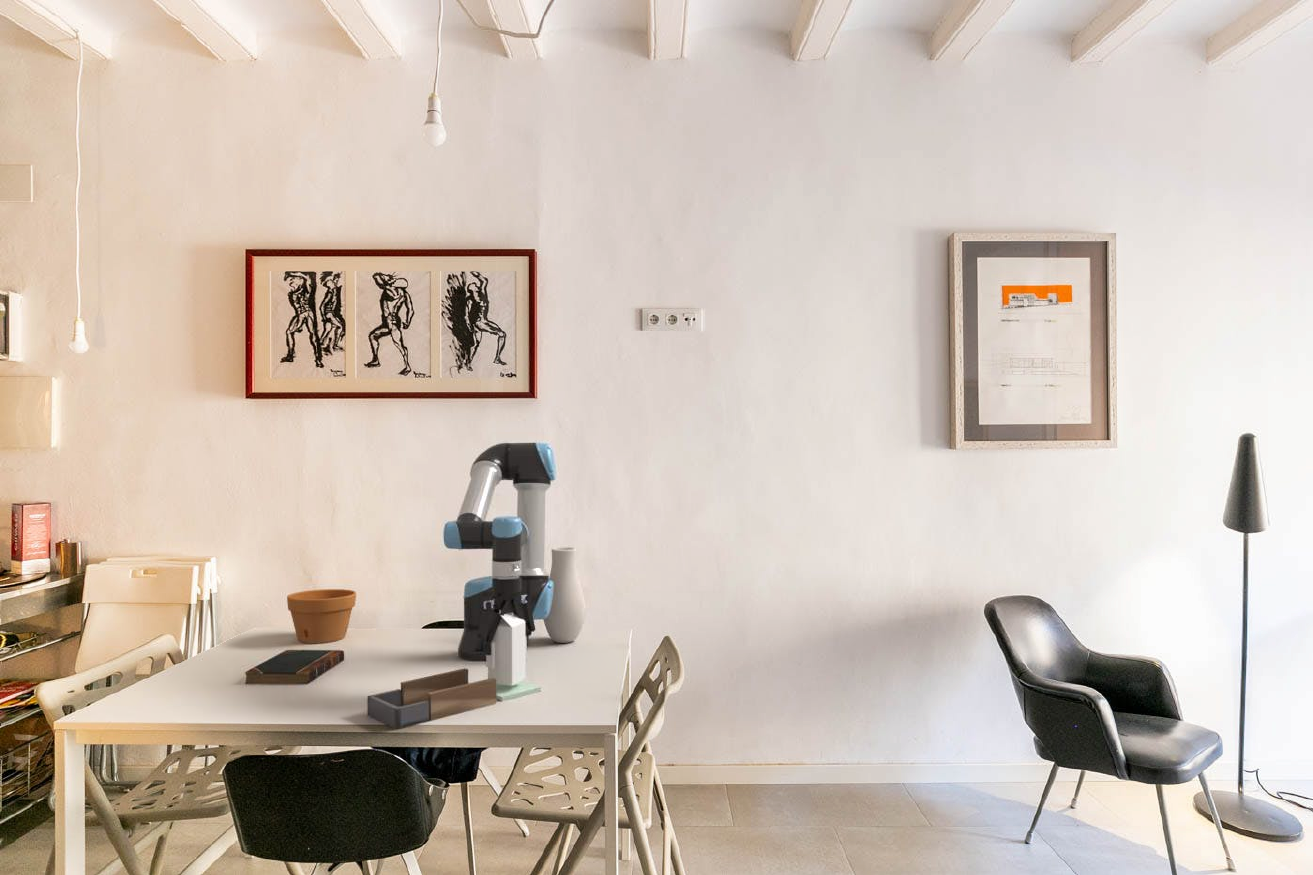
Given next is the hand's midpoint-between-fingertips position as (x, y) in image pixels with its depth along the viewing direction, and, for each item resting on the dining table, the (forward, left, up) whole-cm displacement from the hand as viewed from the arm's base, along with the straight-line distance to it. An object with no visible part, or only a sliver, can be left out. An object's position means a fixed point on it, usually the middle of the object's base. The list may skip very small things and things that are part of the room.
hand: (506, 663), depth 216 cm
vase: (-32, +45, -7) cm, 56 cm away
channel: (0, -17, -7) cm, 18 cm away
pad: (0, 0, -7) cm, 7 cm away
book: (-57, -31, -8) cm, 65 cm away
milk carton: (0, 0, -5) cm, 5 cm away
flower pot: (-91, -9, -7) cm, 92 cm away
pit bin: (0, -31, -7) cm, 31 cm away
